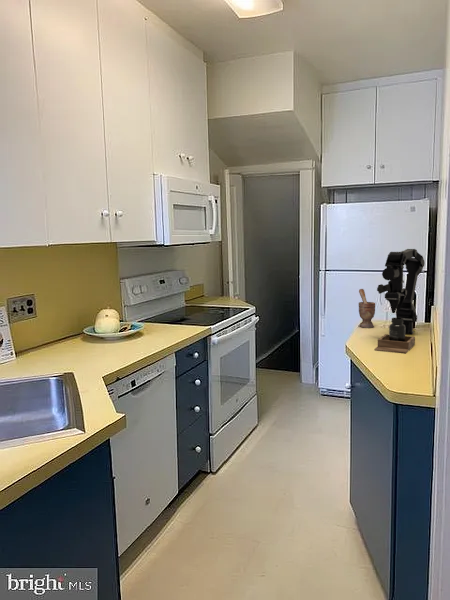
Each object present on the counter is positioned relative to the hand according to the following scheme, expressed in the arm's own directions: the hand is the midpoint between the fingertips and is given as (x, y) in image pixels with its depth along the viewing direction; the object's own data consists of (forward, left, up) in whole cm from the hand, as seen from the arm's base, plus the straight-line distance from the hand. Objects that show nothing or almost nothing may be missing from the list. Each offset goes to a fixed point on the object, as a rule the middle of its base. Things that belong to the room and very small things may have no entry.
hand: (395, 311), depth 226 cm
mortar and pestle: (-24, -22, -13) cm, 35 cm away
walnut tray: (+17, +4, -13) cm, 22 cm away
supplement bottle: (+15, +4, -13) cm, 20 cm away
